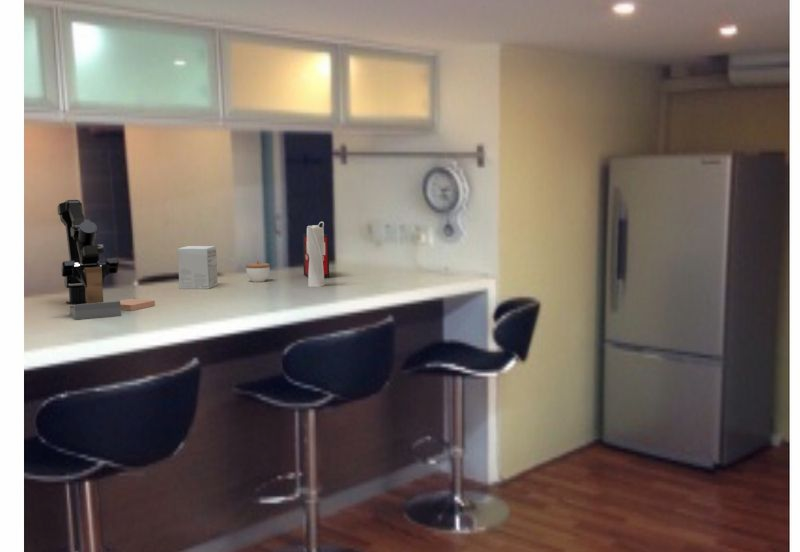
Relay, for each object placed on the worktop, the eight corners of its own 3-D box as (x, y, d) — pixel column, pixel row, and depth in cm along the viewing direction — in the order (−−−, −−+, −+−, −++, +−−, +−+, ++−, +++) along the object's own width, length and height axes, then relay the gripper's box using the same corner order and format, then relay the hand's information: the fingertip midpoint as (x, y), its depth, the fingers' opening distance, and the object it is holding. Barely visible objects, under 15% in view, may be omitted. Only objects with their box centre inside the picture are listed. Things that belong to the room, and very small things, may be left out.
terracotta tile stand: (107, 308, 306) (106, 303, 305) (131, 303, 316) (130, 298, 316) (131, 310, 300) (131, 305, 300) (154, 305, 311) (154, 300, 311)
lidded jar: (263, 283, 372) (262, 262, 371) (242, 282, 376) (241, 261, 374) (274, 280, 382) (273, 259, 381) (253, 279, 386) (253, 259, 384)
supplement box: (218, 284, 368) (217, 245, 365) (208, 289, 355) (207, 248, 352) (189, 284, 369) (187, 245, 367) (178, 289, 356) (176, 248, 354)
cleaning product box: (329, 278, 387) (328, 235, 385) (310, 279, 384) (309, 236, 382) (321, 274, 403) (321, 233, 400) (303, 275, 400) (302, 233, 398)
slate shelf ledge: (69, 314, 293) (69, 300, 292) (113, 310, 300) (113, 297, 300) (75, 319, 283) (74, 305, 282) (120, 315, 290) (120, 301, 289)
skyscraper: (328, 285, 363) (327, 221, 360) (322, 287, 356) (321, 222, 352) (311, 284, 365) (310, 221, 362) (305, 287, 358) (303, 222, 355)
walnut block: (85, 301, 292) (83, 267, 290) (100, 300, 294) (98, 266, 293) (88, 303, 288) (86, 269, 286) (103, 302, 290) (101, 268, 288)
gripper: (60, 238, 287) (67, 273, 279) (116, 235, 296) (124, 269, 288) (58, 258, 295) (65, 293, 286) (113, 255, 304) (121, 289, 296)
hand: (94, 285), depth 289 cm, fingers closed on walnut block, 5 cm apart
